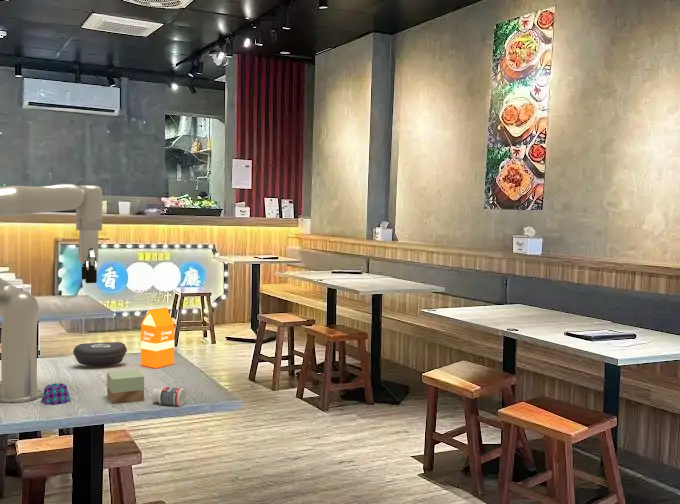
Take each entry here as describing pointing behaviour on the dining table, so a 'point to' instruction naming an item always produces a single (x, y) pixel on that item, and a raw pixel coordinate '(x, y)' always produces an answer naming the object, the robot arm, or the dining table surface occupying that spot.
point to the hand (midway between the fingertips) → (89, 281)
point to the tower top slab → (125, 381)
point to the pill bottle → (169, 396)
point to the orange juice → (157, 338)
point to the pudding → (55, 395)
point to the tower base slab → (125, 396)
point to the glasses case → (100, 353)
